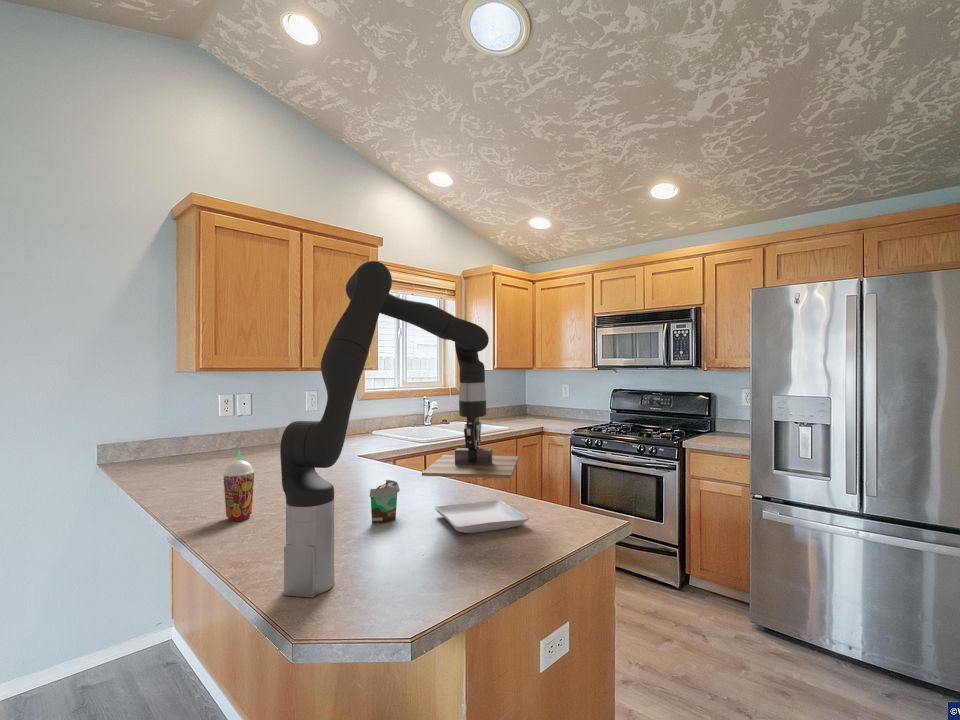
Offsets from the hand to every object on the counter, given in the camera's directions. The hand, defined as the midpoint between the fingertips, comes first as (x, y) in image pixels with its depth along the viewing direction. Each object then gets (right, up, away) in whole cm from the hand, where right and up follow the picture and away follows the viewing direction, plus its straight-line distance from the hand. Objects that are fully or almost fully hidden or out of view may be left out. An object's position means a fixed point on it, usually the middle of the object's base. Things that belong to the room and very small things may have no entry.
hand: (473, 460), depth 133 cm
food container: (-25, -19, +7) cm, 32 cm away
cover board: (0, -2, 0) cm, 2 cm away
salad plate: (+2, -19, +4) cm, 19 cm away
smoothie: (-69, -19, +9) cm, 72 cm away
